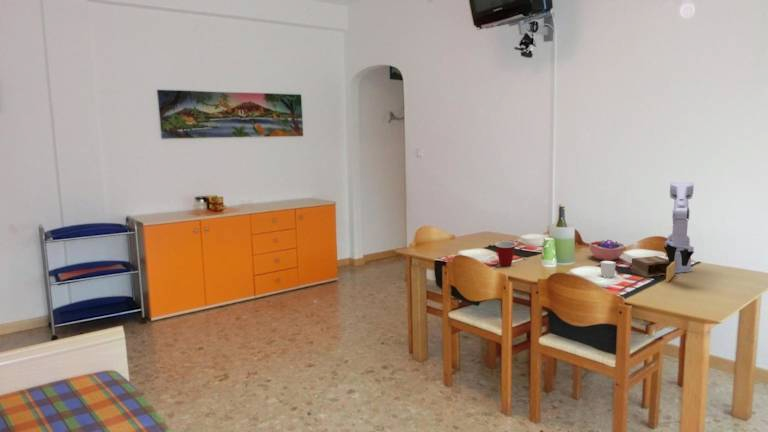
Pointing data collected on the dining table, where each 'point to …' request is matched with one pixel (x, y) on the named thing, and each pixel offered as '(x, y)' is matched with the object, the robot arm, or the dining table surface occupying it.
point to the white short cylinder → (608, 268)
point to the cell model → (606, 250)
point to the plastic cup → (505, 252)
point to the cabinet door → (670, 271)
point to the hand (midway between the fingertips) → (677, 263)
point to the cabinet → (650, 266)
